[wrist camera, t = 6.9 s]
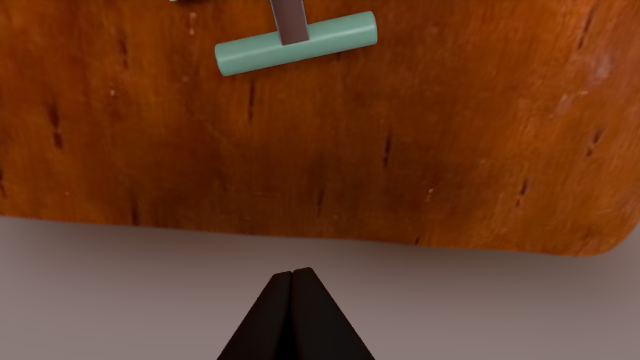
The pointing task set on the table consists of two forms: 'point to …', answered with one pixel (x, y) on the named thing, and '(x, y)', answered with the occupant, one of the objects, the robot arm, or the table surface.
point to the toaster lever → (295, 39)
